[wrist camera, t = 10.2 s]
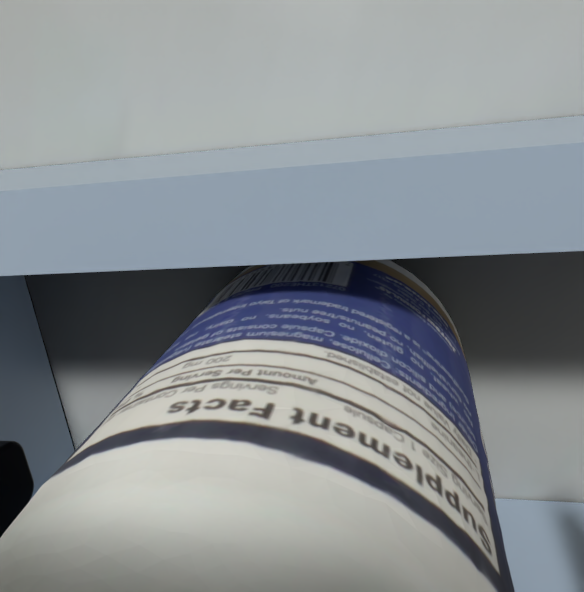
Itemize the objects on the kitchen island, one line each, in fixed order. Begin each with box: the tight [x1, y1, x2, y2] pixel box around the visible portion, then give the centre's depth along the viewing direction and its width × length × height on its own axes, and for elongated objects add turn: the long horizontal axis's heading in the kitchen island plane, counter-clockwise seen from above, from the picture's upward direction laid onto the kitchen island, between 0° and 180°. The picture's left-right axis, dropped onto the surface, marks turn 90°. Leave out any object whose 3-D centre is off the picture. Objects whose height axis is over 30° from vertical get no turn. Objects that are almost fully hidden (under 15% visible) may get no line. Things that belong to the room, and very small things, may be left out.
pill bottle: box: [0, 259, 515, 592], centre depth 7 cm, size 5×5×10 cm
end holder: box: [0, 115, 584, 592], centre depth 10 cm, size 13×9×4 cm
